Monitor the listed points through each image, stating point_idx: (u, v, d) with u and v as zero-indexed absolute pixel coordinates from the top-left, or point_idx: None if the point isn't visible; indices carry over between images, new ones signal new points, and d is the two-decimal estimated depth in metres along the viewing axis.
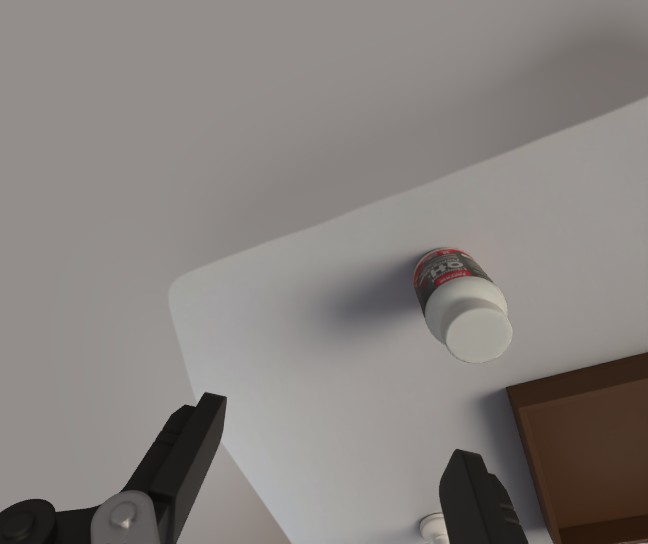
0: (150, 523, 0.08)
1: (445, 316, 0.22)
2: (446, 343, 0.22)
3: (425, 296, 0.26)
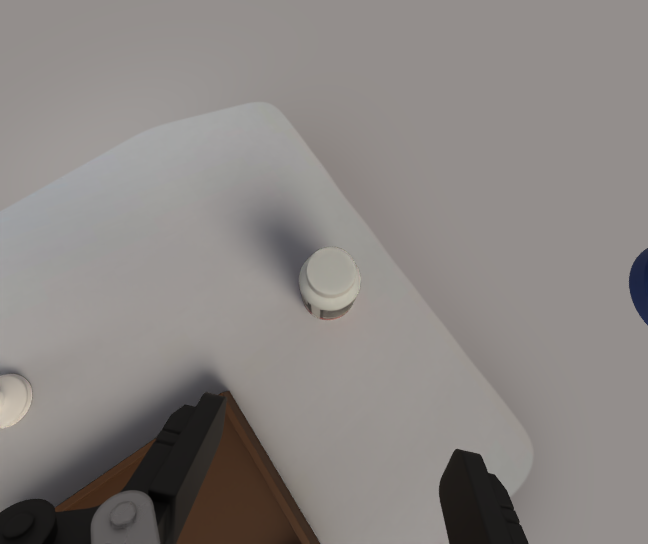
0: (150, 523, 0.08)
1: None
2: None
3: None
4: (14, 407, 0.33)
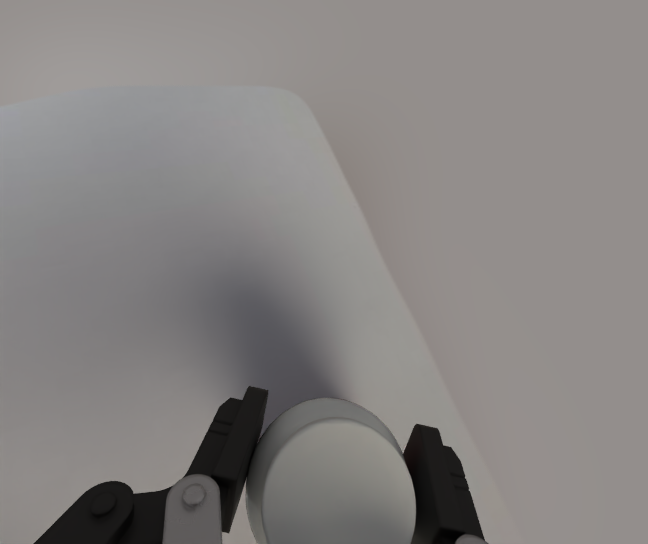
0: (219, 504, 0.08)
1: None
2: (316, 423, 0.10)
3: None
4: None
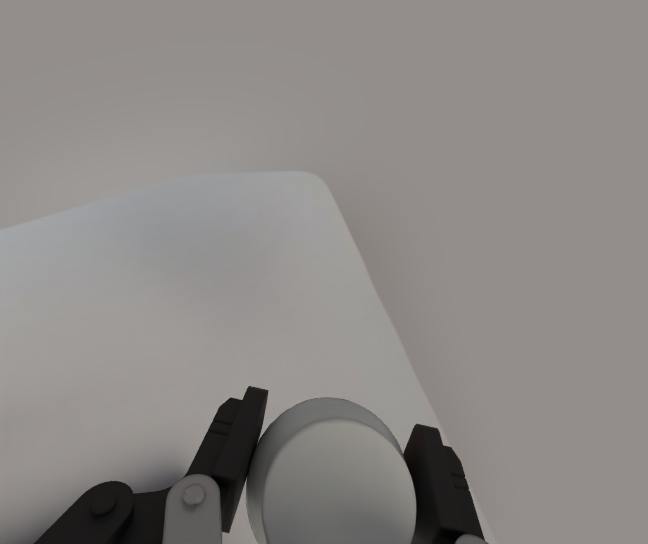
0: (219, 504, 0.08)
1: None
2: (316, 422, 0.10)
3: None
4: None
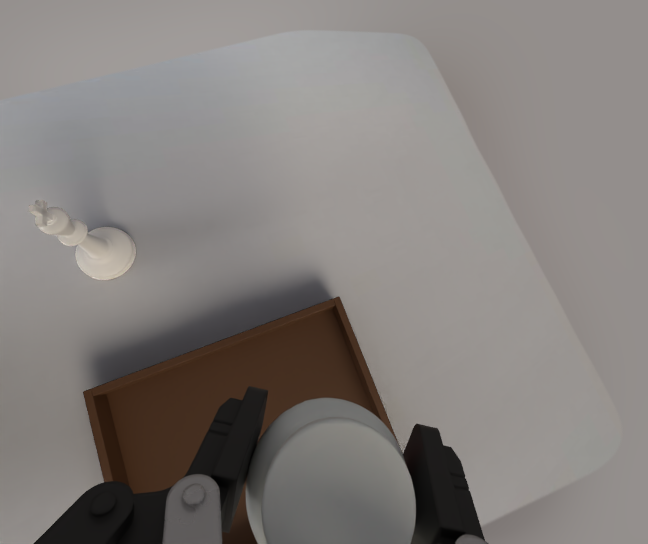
0: (219, 504, 0.08)
1: None
2: (316, 423, 0.10)
3: None
4: (118, 260, 0.32)
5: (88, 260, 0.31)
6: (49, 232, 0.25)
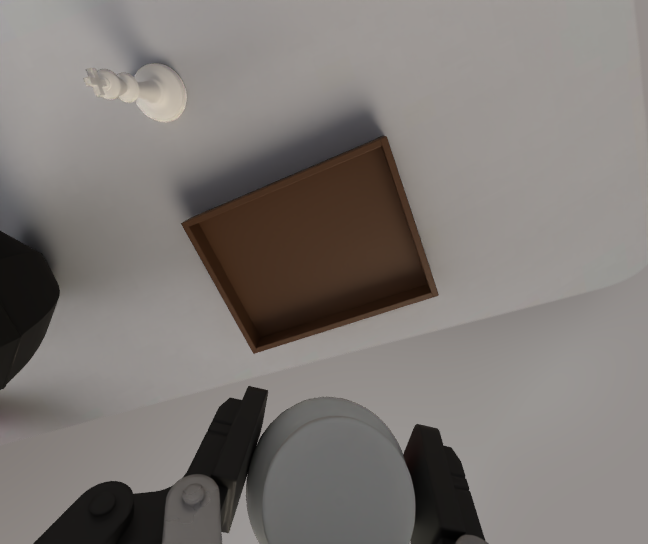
0: (218, 504, 0.08)
1: None
2: (317, 421, 0.10)
3: None
4: (173, 103, 0.33)
5: (147, 104, 0.33)
6: (109, 98, 0.26)
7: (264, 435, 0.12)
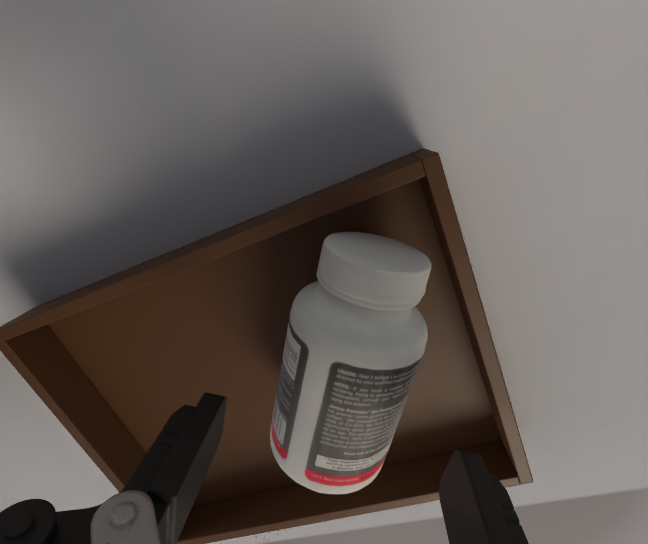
0: (150, 523, 0.08)
1: None
2: (351, 232, 0.14)
3: None
4: None
5: None
6: None
7: None
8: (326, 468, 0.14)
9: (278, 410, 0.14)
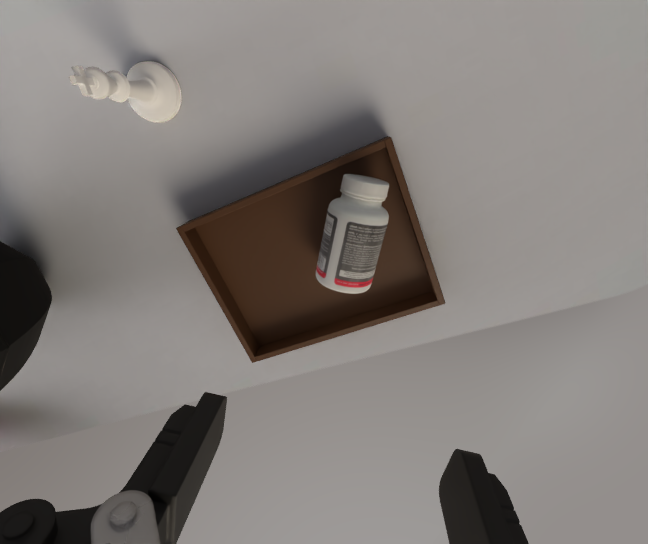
0: (150, 523, 0.08)
1: None
2: (355, 174, 0.32)
3: None
4: (167, 102, 0.31)
5: (140, 104, 0.31)
6: (97, 98, 0.25)
7: None
8: (344, 276, 0.31)
9: (321, 256, 0.32)
